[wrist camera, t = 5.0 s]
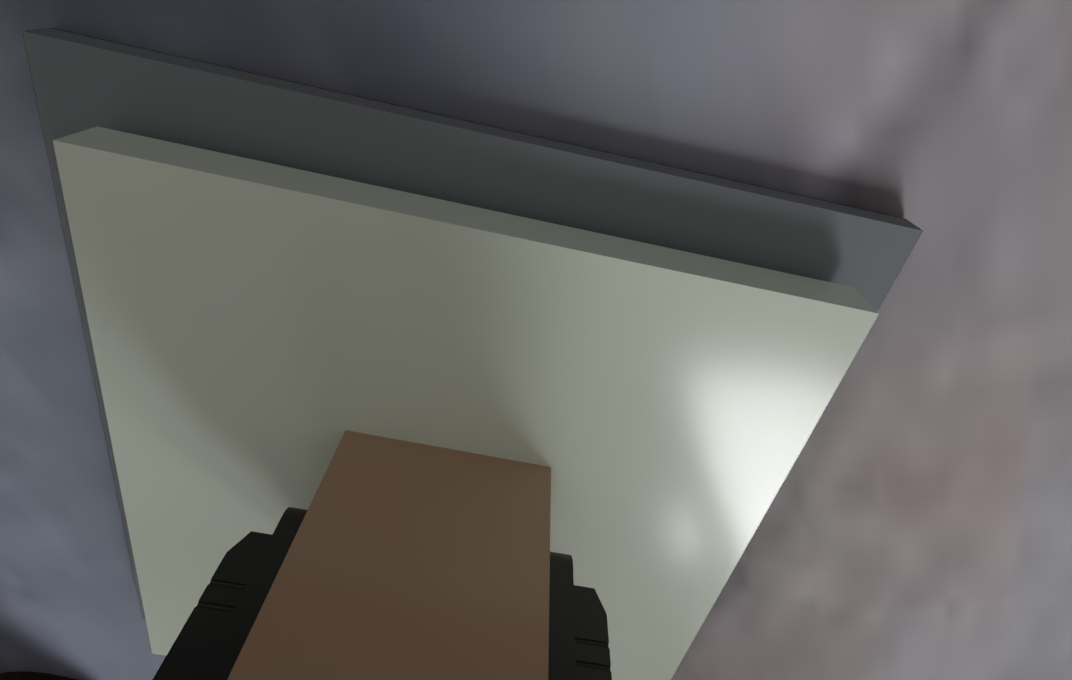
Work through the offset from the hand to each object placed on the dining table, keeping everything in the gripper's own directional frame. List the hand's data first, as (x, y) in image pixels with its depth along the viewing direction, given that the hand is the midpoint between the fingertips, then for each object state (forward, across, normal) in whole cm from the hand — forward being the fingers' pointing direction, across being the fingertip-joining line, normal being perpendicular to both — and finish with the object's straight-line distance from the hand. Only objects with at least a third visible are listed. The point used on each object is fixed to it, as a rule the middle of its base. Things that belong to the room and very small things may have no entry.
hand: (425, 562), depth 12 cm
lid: (+2, 0, 0) cm, 2 cm away
